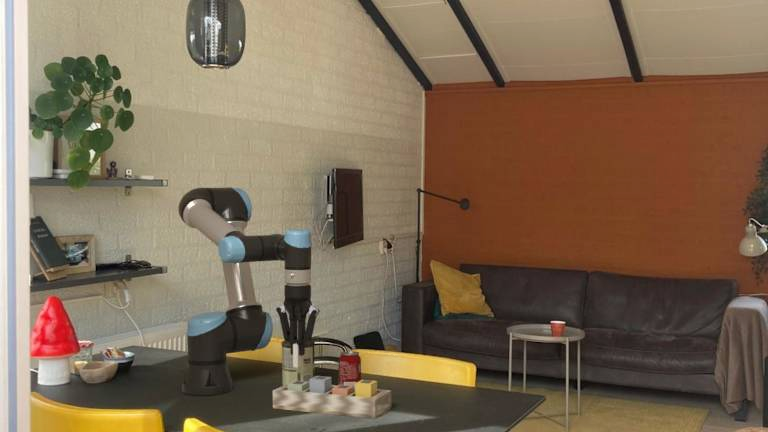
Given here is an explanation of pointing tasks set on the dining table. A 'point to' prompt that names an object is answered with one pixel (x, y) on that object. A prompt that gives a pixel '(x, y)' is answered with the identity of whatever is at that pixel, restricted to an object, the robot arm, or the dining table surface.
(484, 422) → the dining table surface
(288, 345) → the coffee can
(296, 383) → the sage key
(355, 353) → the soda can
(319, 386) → the slate key
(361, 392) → the mustard key
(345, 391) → the terracotta key
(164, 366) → the dining table surface
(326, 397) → the wooden tray
